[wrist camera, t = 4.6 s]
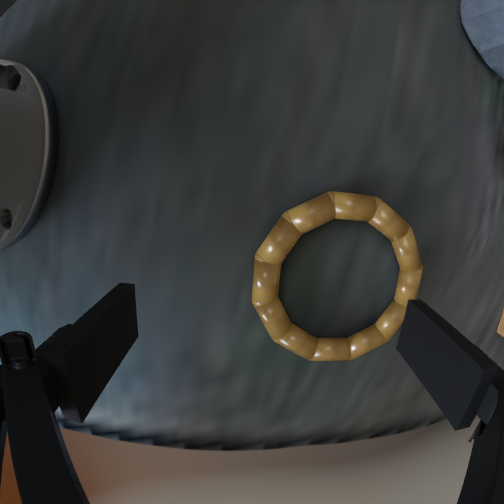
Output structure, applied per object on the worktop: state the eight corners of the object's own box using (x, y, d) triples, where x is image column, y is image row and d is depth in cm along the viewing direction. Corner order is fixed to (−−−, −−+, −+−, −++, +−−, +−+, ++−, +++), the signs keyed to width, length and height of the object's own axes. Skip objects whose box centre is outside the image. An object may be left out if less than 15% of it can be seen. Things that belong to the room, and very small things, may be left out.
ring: (247, 350, 22) (247, 363, 20) (259, 184, 19) (259, 185, 17) (395, 351, 22) (403, 362, 20) (425, 202, 19) (437, 205, 18)
